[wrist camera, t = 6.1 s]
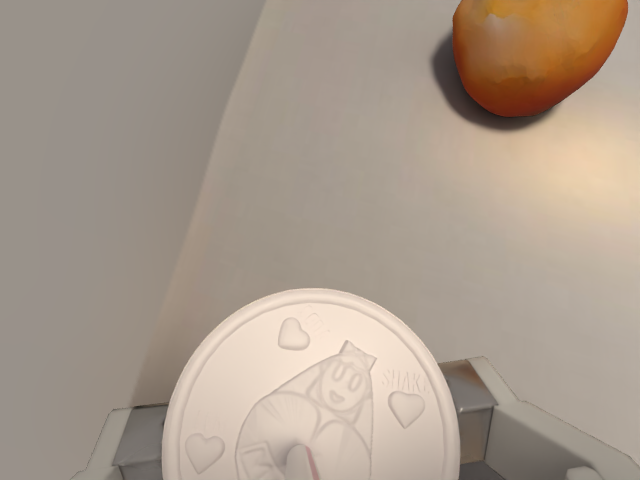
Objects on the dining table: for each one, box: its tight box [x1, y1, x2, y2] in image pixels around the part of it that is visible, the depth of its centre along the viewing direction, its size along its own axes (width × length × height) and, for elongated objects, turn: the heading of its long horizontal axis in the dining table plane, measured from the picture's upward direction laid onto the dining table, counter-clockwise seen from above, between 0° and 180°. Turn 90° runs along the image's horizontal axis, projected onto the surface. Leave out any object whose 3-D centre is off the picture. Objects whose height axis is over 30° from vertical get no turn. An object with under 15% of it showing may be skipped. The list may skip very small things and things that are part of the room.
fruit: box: [452, 0, 628, 117], centre depth 22 cm, size 8×8×8 cm
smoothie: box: [162, 288, 460, 480], centre depth 11 cm, size 6×6×14 cm
